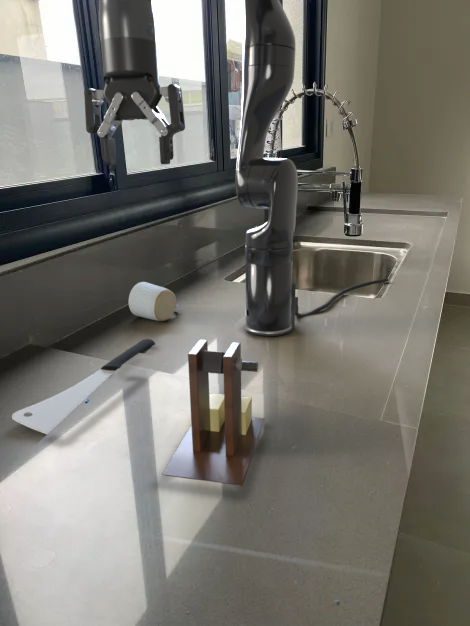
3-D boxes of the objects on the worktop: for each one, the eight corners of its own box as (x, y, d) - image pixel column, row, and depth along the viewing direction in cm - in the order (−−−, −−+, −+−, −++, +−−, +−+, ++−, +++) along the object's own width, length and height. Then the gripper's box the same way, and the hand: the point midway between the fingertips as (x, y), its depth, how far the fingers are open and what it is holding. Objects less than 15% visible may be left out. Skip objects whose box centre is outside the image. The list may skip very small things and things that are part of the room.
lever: (214, 372, 68) (216, 355, 69) (257, 376, 67) (258, 358, 67) (185, 370, 56) (187, 349, 56) (237, 375, 54) (239, 353, 55)
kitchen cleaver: (65, 436, 63) (5, 413, 66) (66, 447, 63) (6, 424, 67) (184, 348, 90) (137, 335, 93) (183, 356, 90) (136, 343, 94)
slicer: (199, 419, 68) (195, 324, 63) (264, 426, 66) (264, 329, 61) (162, 484, 55) (154, 370, 50) (242, 495, 53) (240, 378, 48)
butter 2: (234, 417, 66) (233, 395, 65) (251, 418, 65) (251, 397, 64) (226, 433, 62) (226, 410, 61) (245, 435, 62) (245, 412, 61)
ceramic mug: (157, 326, 103) (155, 290, 101) (128, 319, 108) (126, 285, 105) (188, 313, 112) (187, 280, 110) (161, 307, 116) (159, 275, 114)
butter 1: (209, 414, 67) (208, 393, 66) (226, 416, 66) (226, 394, 65) (200, 430, 63) (199, 407, 62) (219, 432, 62) (218, 409, 61)
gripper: (187, 42, 69) (192, 163, 75) (94, 48, 73) (105, 164, 78) (168, 31, 63) (175, 165, 68) (66, 38, 66) (80, 166, 71)
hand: (138, 164), depth 73 cm, fingers open, 8 cm apart
